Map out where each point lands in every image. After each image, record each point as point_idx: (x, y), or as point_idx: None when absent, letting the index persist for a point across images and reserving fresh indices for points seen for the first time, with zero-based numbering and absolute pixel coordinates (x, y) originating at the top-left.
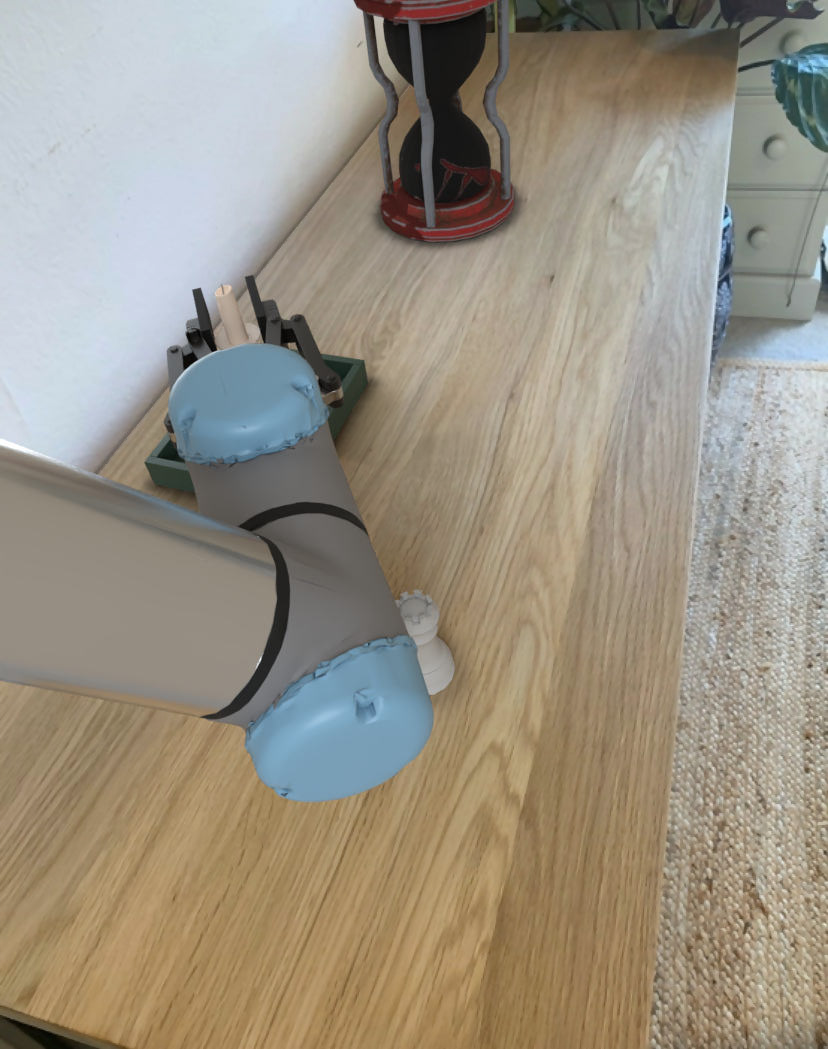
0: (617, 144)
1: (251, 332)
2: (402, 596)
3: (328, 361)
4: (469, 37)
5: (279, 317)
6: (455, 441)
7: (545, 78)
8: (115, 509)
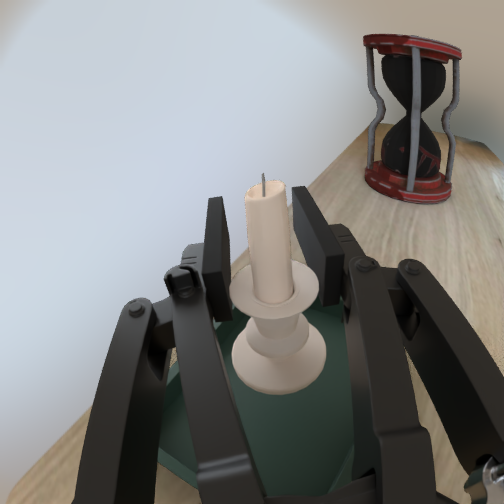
0: (477, 170)
1: (299, 279)
2: None
3: None
4: (442, 74)
5: (376, 261)
6: None
7: None
8: None
